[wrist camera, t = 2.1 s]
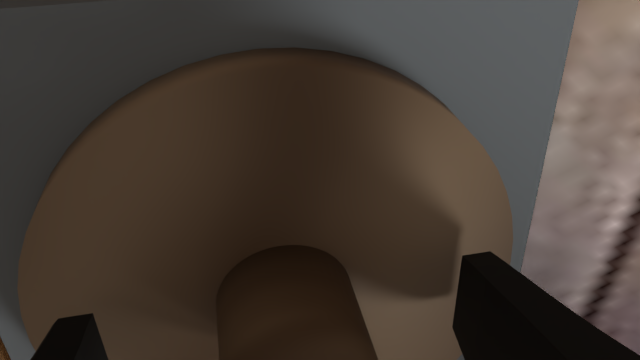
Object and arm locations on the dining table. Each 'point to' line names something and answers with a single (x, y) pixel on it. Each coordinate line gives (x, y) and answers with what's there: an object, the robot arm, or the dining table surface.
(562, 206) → the dining table surface
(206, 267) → the lid
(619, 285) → the dining table surface
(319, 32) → the mat
